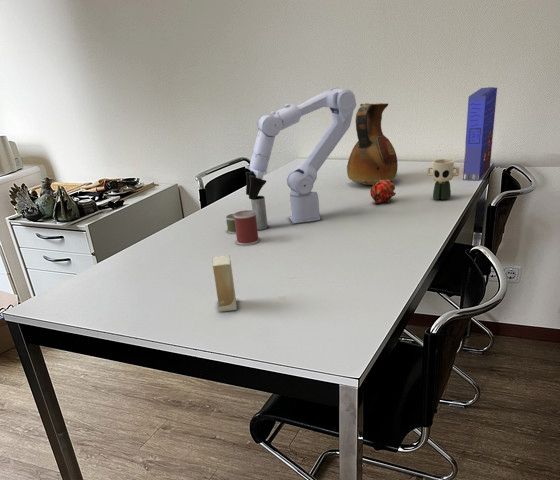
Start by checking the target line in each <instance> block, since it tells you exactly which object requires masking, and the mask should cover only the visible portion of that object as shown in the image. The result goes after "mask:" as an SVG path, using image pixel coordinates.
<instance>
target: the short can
mask: <svg viewBox="0 0 560 480" xmlns="http://www.w3.org/2000/svg"><path fill="white" fill-rule="evenodd" d="M234 213H235V212H234ZM234 213H230V214H227V215H226V216H225V219H226V226H227V232H228V234H231V235H233V234H235V235H236V228H235V220H234Z"/></svg>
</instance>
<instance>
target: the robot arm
mask: <svg viewBox="0 0 560 480" xmlns="http://www.w3.org/2000/svg"><path fill="white" fill-rule="evenodd" d="M356 100H357V99H356V95H355V93H354V92H353V91H352V90H351V89H348V88H347V89H344V88H340V87H332V88H331V89H327V90H324V91H322V92H321V93H319V94H317V95H315V96H313V97H312V98H311V97H310V99H308V100H306V101H303V102H301V103H300V104H298V105H295V104H293V103H290V104H289V103H286V104H284V105H283V107H282V108H280V109H278V110H276V111H275V110H273V111H270V115H269V114H264V115H262V116H261V117H260V119H259V120H258V121H257V122H256V126H257V127H256V128H257V130H258V131H257V134H256V137H255V141H254V145H253V150H252V154H251V159H250V162H249V165H245V166H244V167H245V169H248V170H249V171H250V172H249V171H245V177H246V186H245V187H246V188H245V195H247V196H248V199H249V200H251V199H252V200H256V198H257V196H259V194H260V191H261V190H262V188H263V187H264V186H265V184H266V183H267V180H266V179H263V178H264V176H265V175H267V174H268V167H269V162H270V159H271V155H272V151H273V147H274V143H275V139H276V136H278V135H279V134H280V132H281V131H283V130H286V129H287V128H289V127H291V126H293V125H296V124H297V123H299V122H300V120H301V118H302V117H303V116H305V115H308V114H310V113H312V112H315V111H317V110H320V109H322V108H329V110H330V112H331V117H332V122H331V124H330V126H329V127H328V129H327V130H326V131H325V132H324V134H323V135H322V137H321V138H320V140H319V141H318V143H316V145H315V146H314V147H313V149H312V151H311V152H310V154H309V155H308V156H307V158H306V159H305V161H304V162H303V163H301V164H299V165H298V166H297V167H296V168H295V169H294V170H293V171H291V172H290V173H288V175H287V177H286V184H287V186H288V188H289V189H290V192H289V199H290V211H291V215H289V217H288V218H289V219H290V221H291V223H292V224H294V225H295V224H301V223H309V222H314V221H315V222H316V221H320V220H321V216H320V199H319V195H318V192H317V191H312V190H313V188H314V184H315V182H316V181H317V179H318V172H319V170H320V169H321V168H322V166H323V165H324V163H325V162H326V161H327V159H328V158H329V156H331V154H332V152H333V151H334V149H335V148H336V147H337V145H338V144H339V142H340V141H341V140H342V139H343V137H344V136H345V134H347V132H348V130H349V129H350V127H351V125H352V119H353V114H354V110H356V108H357V102H356Z"/></svg>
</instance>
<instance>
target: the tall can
mask: <svg viewBox="0 0 560 480" xmlns="http://www.w3.org/2000/svg"><path fill="white" fill-rule="evenodd" d="M234 220H235V228H236V234H235V235H236V243H237V244H238V245H241V246H250V245H254V244H256V243H259V242H260V240H259V234H258V233H259V232H258V231H259V230H257V223H256V212H255V211H252V209H250V210H249V209H247V210H240V211H236V212H234Z"/></svg>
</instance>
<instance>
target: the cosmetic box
mask: <svg viewBox="0 0 560 480" xmlns="http://www.w3.org/2000/svg"><path fill="white" fill-rule="evenodd" d="M211 262H212V270H213V278H214V284H215V289H216V297H217V304H218V309H219V312H221V313H222V312H229V311H230V312H231V311H236V310H238V309H237V308H238V306H237V297H236V289H235V281H234V276H233V275H234V273H233V268H232V260H231V255H230V254H226V255H220V256H219V255H218V256H213V257H212V261H211Z"/></svg>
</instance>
